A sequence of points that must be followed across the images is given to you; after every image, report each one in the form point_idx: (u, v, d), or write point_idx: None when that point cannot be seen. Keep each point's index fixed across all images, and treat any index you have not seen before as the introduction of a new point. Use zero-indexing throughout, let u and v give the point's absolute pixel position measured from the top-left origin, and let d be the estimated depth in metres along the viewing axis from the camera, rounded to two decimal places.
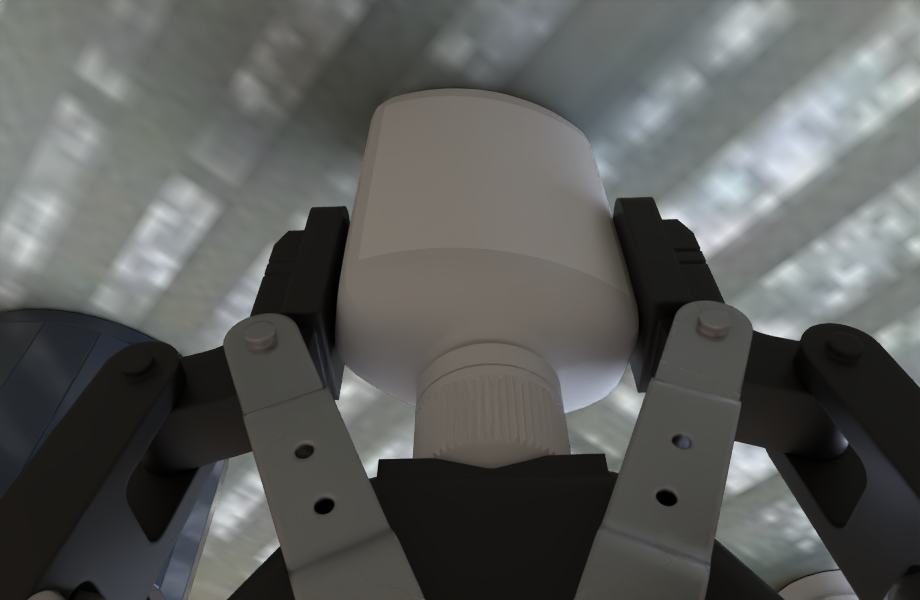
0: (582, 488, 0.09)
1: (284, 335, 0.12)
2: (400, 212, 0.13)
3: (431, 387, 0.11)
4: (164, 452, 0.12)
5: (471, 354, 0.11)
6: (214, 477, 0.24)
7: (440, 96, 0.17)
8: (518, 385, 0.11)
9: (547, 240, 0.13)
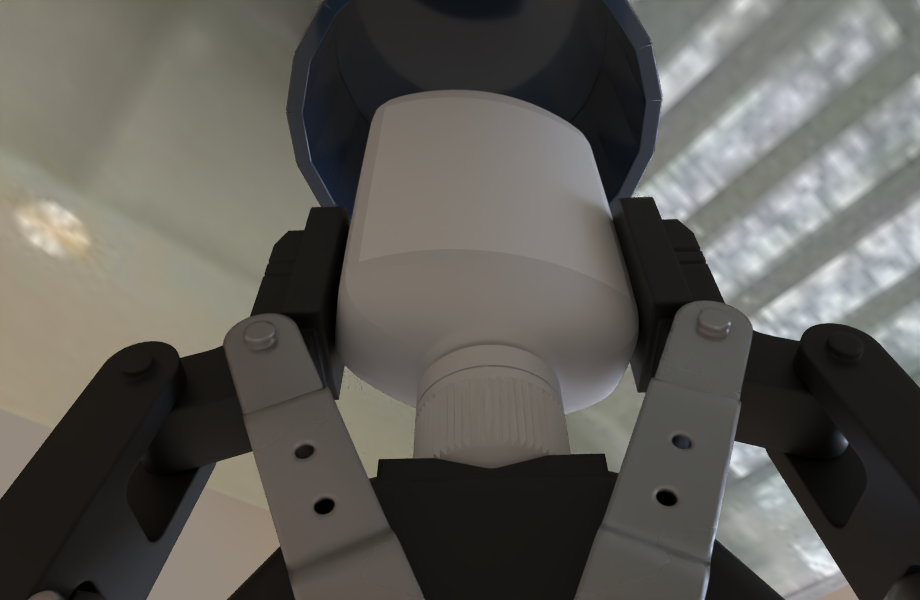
0: (582, 488, 0.09)
1: (284, 335, 0.12)
2: (400, 213, 0.13)
3: (431, 389, 0.11)
4: (164, 452, 0.12)
5: (472, 355, 0.11)
6: None
7: (440, 97, 0.17)
8: (518, 387, 0.11)
9: (547, 242, 0.13)
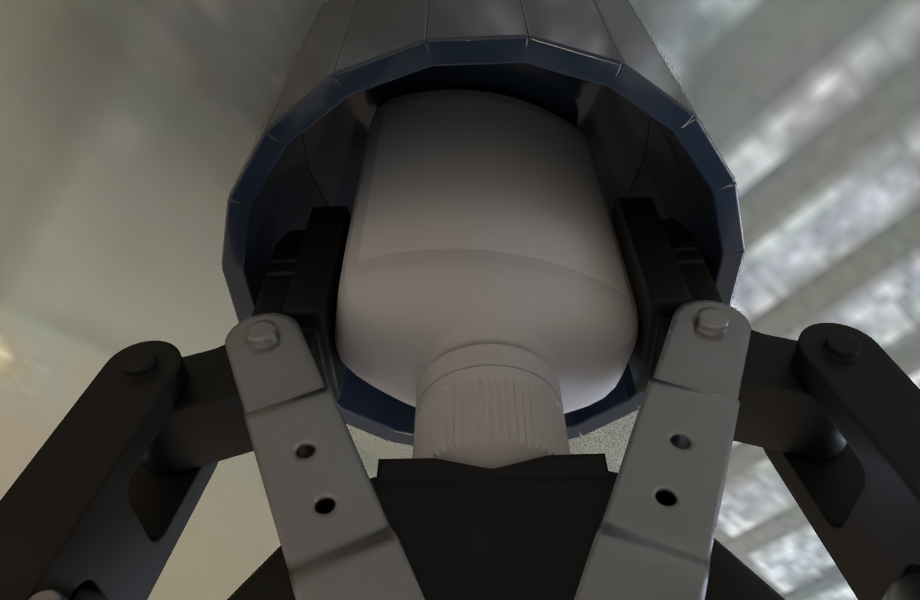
0: (582, 488, 0.09)
1: (285, 335, 0.12)
2: (400, 213, 0.13)
3: (431, 387, 0.11)
4: (166, 451, 0.12)
5: (471, 354, 0.11)
6: None
7: (439, 97, 0.17)
8: (517, 386, 0.11)
9: (547, 241, 0.13)
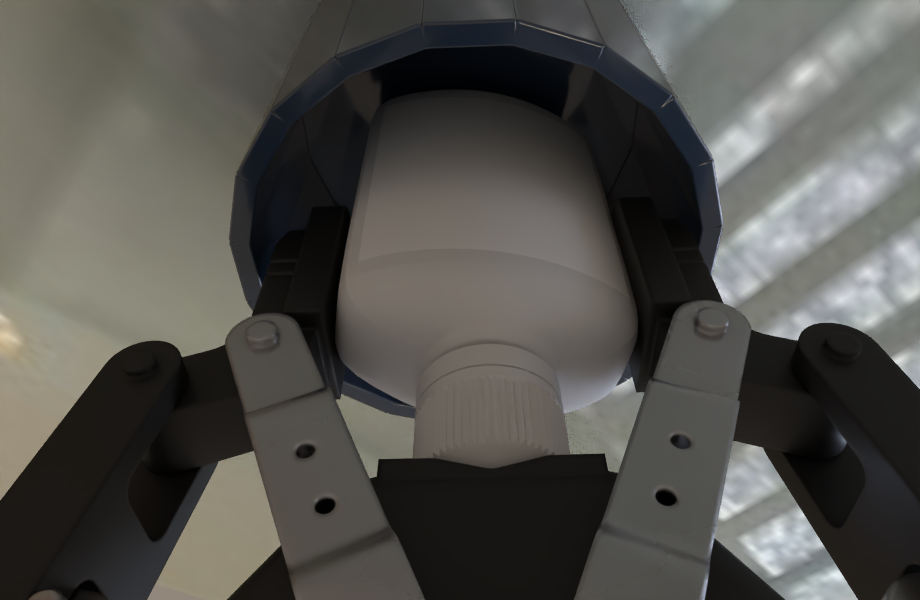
0: (582, 488, 0.09)
1: (285, 335, 0.12)
2: (400, 212, 0.13)
3: (431, 387, 0.11)
4: (166, 451, 0.12)
5: (471, 354, 0.11)
6: None
7: (439, 97, 0.17)
8: (517, 386, 0.11)
9: (547, 241, 0.13)
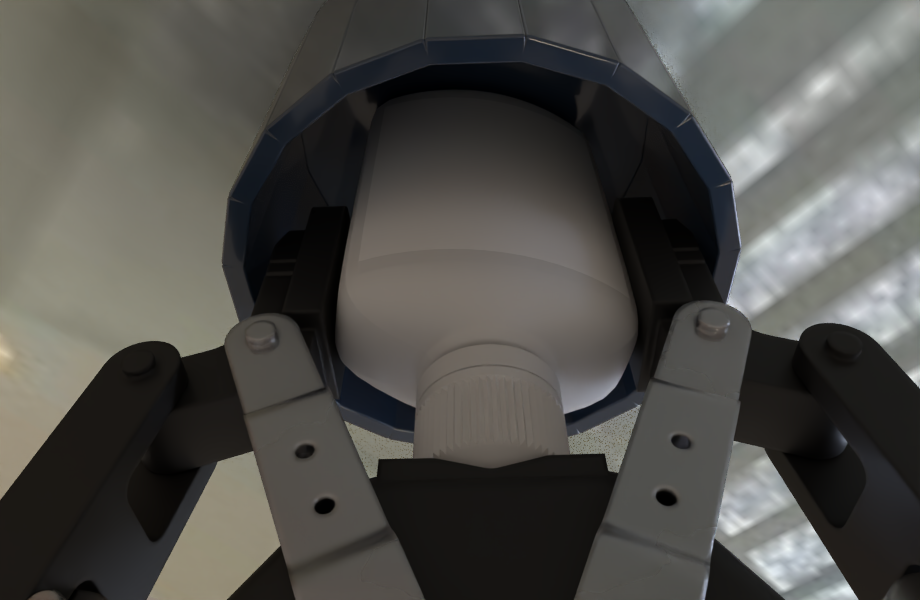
0: (582, 488, 0.09)
1: (285, 335, 0.12)
2: (400, 213, 0.13)
3: (431, 388, 0.11)
4: (165, 452, 0.12)
5: (471, 354, 0.11)
6: None
7: (439, 97, 0.17)
8: (517, 386, 0.11)
9: (547, 242, 0.13)
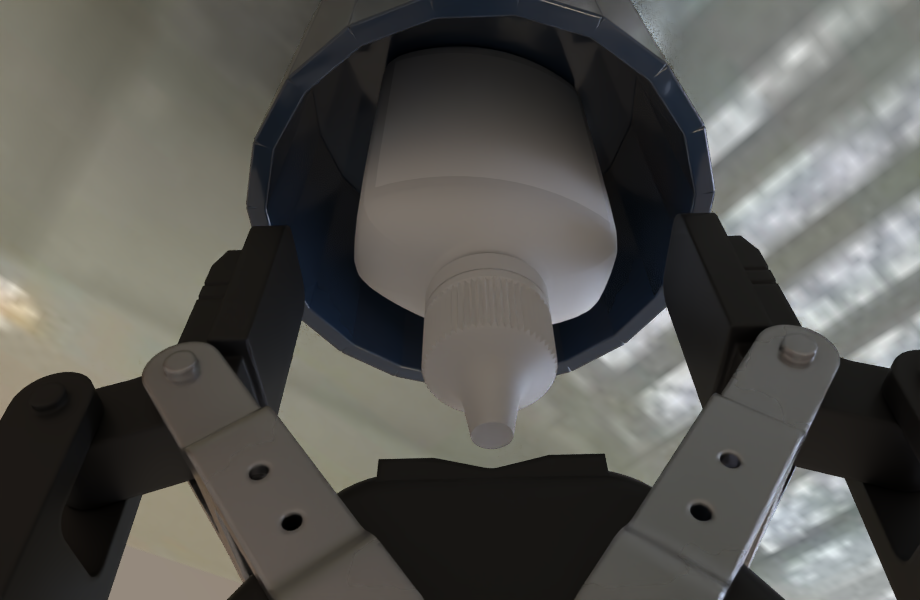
0: (582, 488, 0.09)
1: (206, 362, 0.11)
2: (410, 148, 0.15)
3: (438, 290, 0.13)
4: (80, 487, 0.11)
5: (471, 261, 0.13)
6: None
7: (444, 52, 0.19)
8: (510, 286, 0.13)
9: (538, 172, 0.15)
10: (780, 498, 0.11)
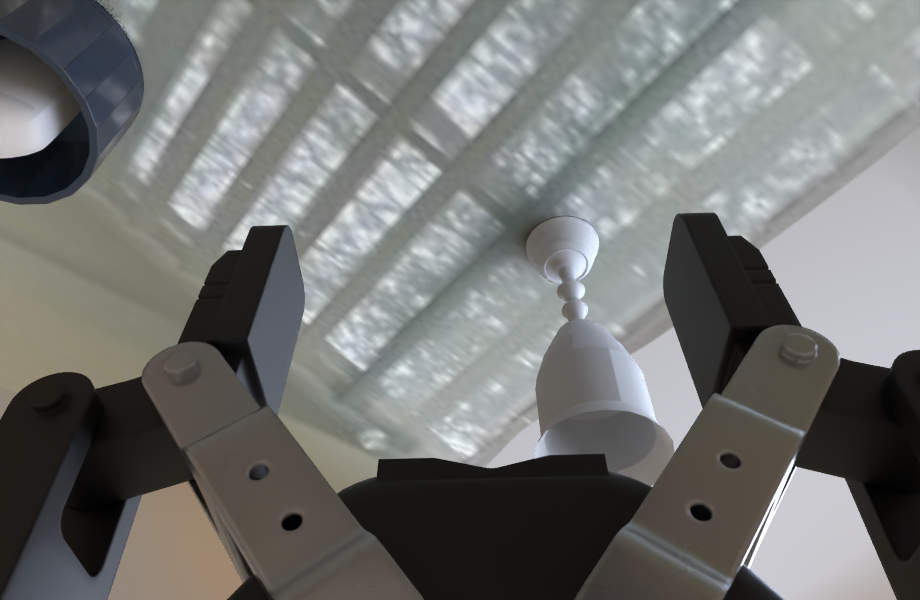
0: (582, 488, 0.09)
1: (206, 362, 0.11)
2: None
3: None
4: (80, 487, 0.11)
5: None
6: (126, 85, 0.39)
7: None
8: None
9: (4, 86, 0.35)
10: (780, 498, 0.11)
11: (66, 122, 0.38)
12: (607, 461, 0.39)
